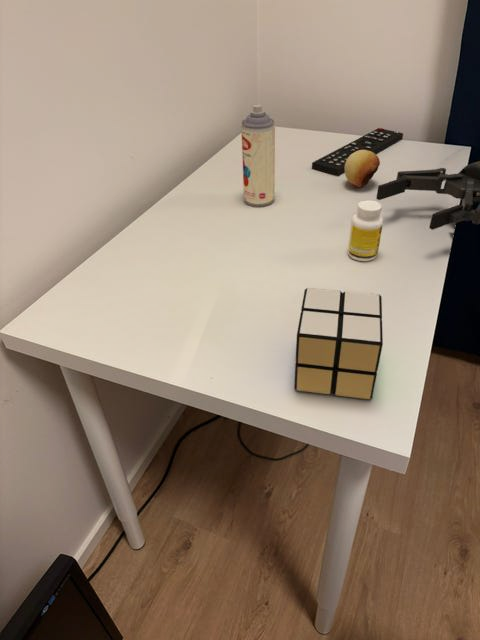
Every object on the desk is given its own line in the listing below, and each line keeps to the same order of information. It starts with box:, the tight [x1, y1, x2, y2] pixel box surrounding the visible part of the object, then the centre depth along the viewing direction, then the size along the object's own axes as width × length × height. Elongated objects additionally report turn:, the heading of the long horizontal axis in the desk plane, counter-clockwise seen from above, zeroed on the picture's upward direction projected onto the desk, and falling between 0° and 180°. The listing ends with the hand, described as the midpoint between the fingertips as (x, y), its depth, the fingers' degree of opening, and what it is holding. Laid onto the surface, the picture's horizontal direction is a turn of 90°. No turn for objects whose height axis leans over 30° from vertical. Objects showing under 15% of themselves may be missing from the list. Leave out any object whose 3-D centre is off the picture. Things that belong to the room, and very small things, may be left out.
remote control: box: [311, 127, 404, 177], centre depth 126 cm, size 8×32×2 cm, turn 137°
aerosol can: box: [240, 104, 276, 208], centre depth 102 cm, size 7×7×20 cm
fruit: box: [344, 150, 381, 188], centre depth 109 cm, size 8×8×8 cm
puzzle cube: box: [293, 287, 384, 400], centre depth 63 cm, size 10×10×10 cm
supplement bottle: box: [347, 199, 384, 262], centre depth 86 cm, size 5×5×10 cm
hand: (403, 206), depth 87 cm, fingers open, 13 cm apart
